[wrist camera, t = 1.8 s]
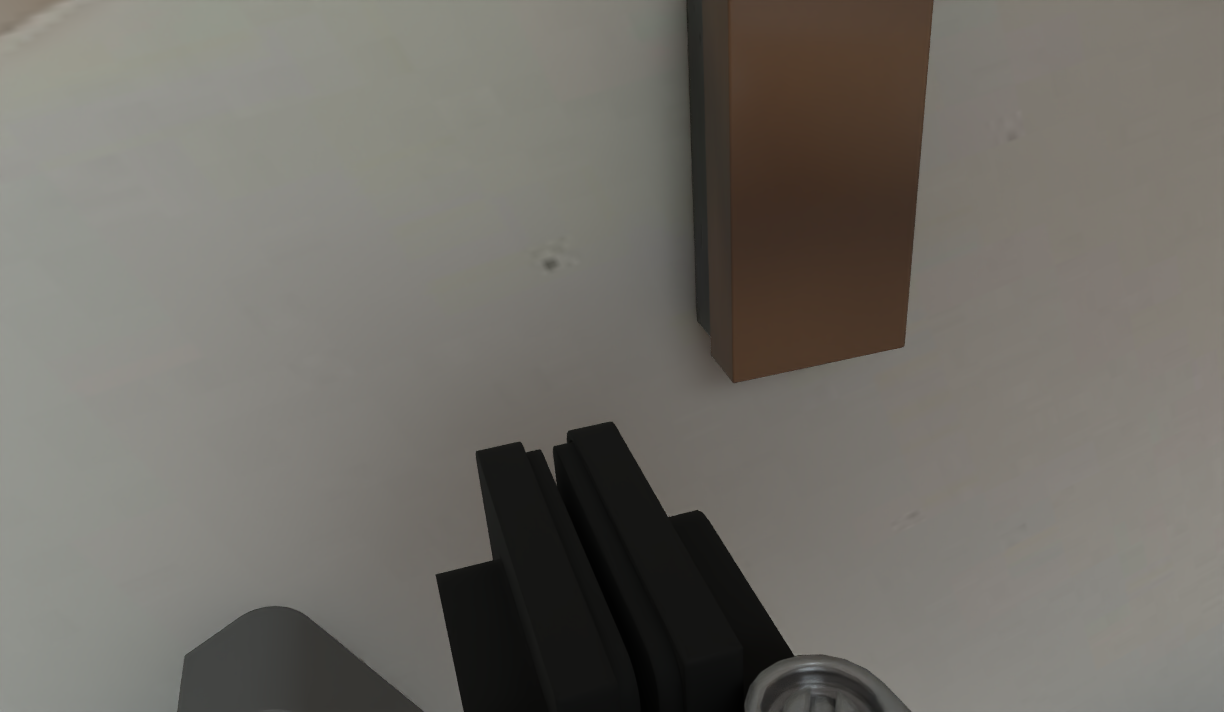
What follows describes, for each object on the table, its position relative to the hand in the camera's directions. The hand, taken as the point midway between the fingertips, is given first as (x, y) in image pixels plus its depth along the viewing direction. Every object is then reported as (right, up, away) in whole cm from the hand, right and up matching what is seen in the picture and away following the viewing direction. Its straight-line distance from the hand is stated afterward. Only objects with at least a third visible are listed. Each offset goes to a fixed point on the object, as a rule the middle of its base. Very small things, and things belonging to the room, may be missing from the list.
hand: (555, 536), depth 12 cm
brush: (+5, +7, +12) cm, 15 cm away
